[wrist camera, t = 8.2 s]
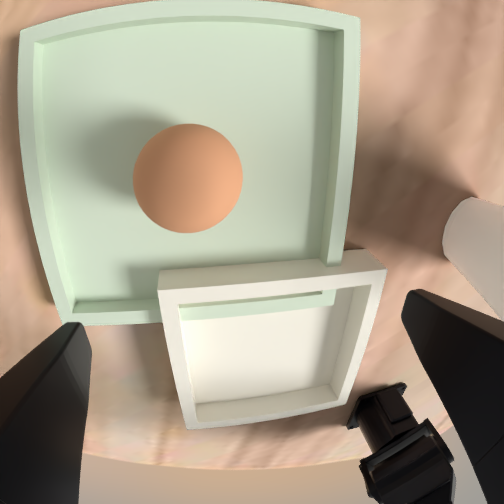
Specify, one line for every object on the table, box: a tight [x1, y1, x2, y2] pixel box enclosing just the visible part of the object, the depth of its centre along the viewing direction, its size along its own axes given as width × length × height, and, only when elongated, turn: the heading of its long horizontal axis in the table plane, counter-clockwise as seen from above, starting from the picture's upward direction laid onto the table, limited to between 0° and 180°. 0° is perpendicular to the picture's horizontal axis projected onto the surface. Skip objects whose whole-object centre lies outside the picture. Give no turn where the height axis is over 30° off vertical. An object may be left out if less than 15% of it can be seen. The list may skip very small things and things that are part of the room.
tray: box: [18, 0, 360, 326], centre depth 16 cm, size 18×18×2 cm
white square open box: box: [157, 249, 388, 430], centre depth 22 cm, size 14×14×3 cm
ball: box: [133, 124, 243, 233], centre depth 14 cm, size 5×5×5 cm
